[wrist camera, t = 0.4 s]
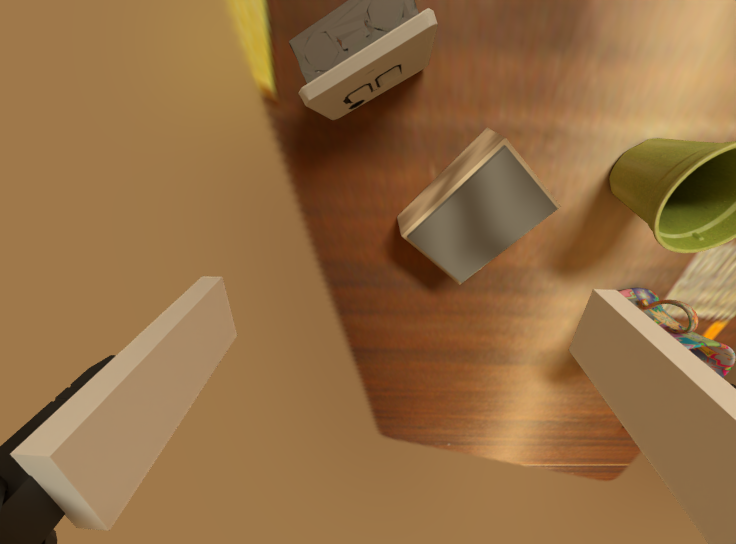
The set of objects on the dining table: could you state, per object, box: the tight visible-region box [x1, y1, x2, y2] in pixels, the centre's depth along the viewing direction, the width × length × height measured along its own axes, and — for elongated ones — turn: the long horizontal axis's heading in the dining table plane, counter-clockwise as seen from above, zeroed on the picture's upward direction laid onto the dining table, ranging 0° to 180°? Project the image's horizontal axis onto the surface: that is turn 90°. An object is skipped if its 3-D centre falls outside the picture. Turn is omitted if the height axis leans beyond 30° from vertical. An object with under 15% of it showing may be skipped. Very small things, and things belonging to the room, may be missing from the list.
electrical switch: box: [289, 0, 438, 120], centre depth 23 cm, size 9×5×9 cm, turn 117°
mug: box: [619, 288, 735, 378], centre depth 37 cm, size 12×9×11 cm
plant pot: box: [609, 138, 736, 253], centre depth 28 cm, size 9×9×9 cm
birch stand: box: [397, 128, 561, 285], centre depth 31 cm, size 12×9×5 cm
